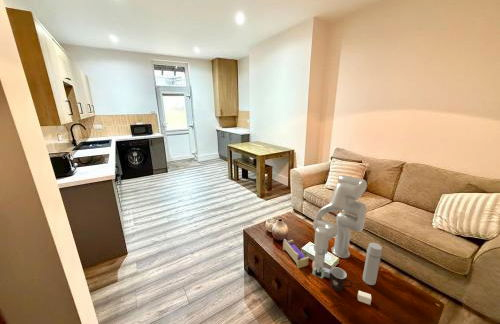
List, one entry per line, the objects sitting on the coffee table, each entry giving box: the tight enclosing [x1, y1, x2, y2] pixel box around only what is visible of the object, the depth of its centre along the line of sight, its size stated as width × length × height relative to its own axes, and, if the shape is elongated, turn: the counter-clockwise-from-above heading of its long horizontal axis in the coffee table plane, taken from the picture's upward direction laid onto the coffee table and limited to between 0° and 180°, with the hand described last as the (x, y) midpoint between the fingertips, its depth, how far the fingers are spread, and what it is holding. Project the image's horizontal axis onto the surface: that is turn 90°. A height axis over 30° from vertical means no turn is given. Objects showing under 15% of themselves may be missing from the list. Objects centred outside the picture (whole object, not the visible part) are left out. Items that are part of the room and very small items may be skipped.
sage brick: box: [311, 268, 325, 279], centre depth 121 cm, size 6×3×4 cm, turn 65°
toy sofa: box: [282, 238, 310, 269], centre depth 143 cm, size 21×9×10 cm, turn 21°
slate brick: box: [322, 266, 331, 279], centre depth 128 cm, size 6×3×4 cm, turn 64°
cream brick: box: [357, 290, 372, 306], centre depth 111 cm, size 6×3×4 cm, turn 65°
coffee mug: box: [330, 266, 353, 292], centre depth 118 cm, size 12×9×10 cm
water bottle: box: [362, 242, 383, 286], centre depth 122 cm, size 9×8×25 cm
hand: (318, 273), depth 121 cm, fingers closed on sage brick, 3 cm apart
